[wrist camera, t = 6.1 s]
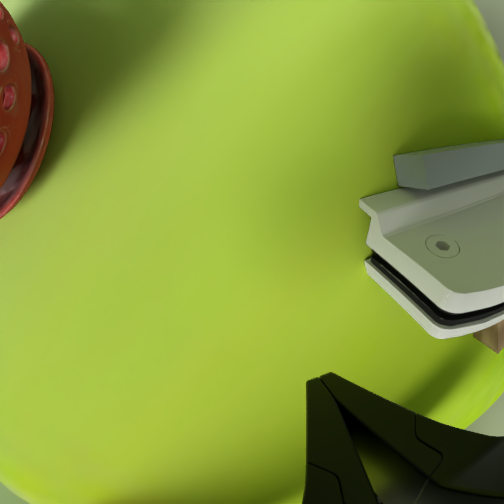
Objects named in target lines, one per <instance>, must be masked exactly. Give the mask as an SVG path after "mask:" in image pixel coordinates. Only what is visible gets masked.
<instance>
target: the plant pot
mask: <svg viewBox="0 0 504 504" xmlns="http://www.w3.org/2000/svg"><path fill="white" fill-rule="evenodd" d="M53 114H54V89H53V82H52V77H51V73H50V70H49V67H48V65H47V63H46V61H45V59H44V58H43V56H42V55H41V54H40V53H39V52H38V51H37V50H36V49H35V48H33V47H32V46H31V45H29V44H27V43H24V41H23V39H22V36H21V34H20V32H19V30H18V27H17V25H16V24H15V22H14V20H13V18H12V17H11V15H10V13H9V12H8V11H7V9H6V8H5V7H4V6H3V4H2V3H1V2H0V219H1V218H2V217H4V216H5V215H6V214H7V213H8V212H9V211H11V210H12V209H13V208H14V207H15V205H16V204H17V203H18V202H19V201H20V200H21V198H22V197H23V195H24V194H25V193H26V191H27V190H28V188H29V186H30V185H31V183H32V181H33V179H34V177H35V176H36V173H37V171H38V169H39V167H40V165H41V162H42V160H43V157H44V154H45V152H46V148H47V145H48V142H49V138H50V134H51V128H52V123H53Z"/></svg>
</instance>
